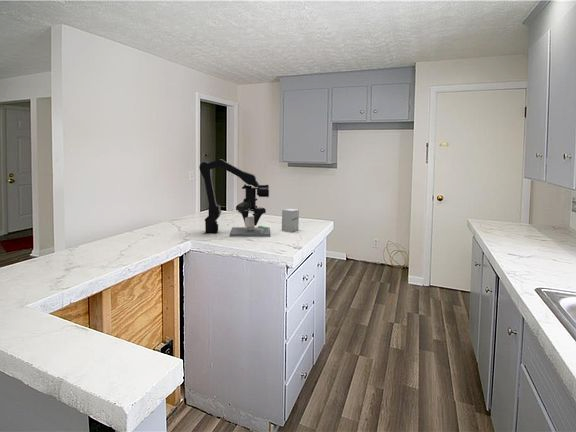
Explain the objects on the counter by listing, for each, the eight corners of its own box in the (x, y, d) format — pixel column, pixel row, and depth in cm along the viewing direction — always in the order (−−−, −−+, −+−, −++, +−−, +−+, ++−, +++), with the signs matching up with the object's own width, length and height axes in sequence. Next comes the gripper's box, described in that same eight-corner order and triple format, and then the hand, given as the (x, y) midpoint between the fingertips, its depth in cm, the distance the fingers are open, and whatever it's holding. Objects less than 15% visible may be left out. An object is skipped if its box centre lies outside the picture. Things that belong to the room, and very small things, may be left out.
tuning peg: (244, 230, 207) (243, 217, 206) (251, 228, 212) (251, 216, 210) (259, 234, 199) (259, 220, 198) (267, 232, 204) (267, 219, 202)
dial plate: (229, 236, 199) (229, 231, 199) (232, 229, 216) (232, 225, 215) (270, 236, 201) (270, 231, 200) (269, 229, 217) (269, 225, 217)
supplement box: (291, 232, 212) (291, 210, 209) (281, 230, 216) (281, 209, 214) (298, 230, 218) (299, 209, 215) (288, 228, 222) (289, 207, 220)
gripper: (228, 196, 205) (228, 223, 207) (251, 199, 193) (251, 229, 195) (243, 194, 213) (243, 221, 216) (266, 198, 201) (266, 226, 204)
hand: (250, 224), depth 207 cm, fingers open, 8 cm apart
